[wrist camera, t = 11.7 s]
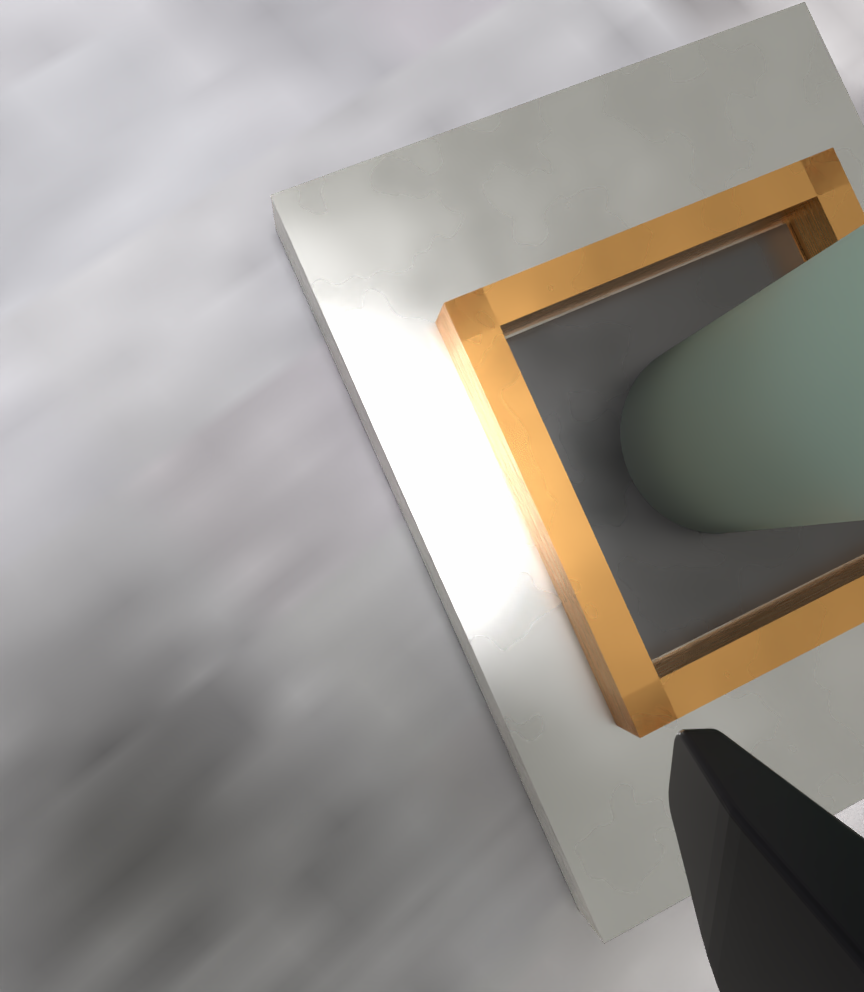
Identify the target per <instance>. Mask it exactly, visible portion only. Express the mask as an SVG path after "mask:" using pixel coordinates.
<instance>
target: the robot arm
mask: <svg viewBox="0 0 864 992" xmlns="http://www.w3.org/2000/svg"><path fill="white" fill-rule="evenodd" d="M668 798H669V807H670V813H671V817H672V821H673V825H674V829H675V833H676V837H677V841H678V845H679V849H680V853H681V857H682V860H683V864H684V868H685V872H686V876H687V880H688V884H689V888H690V892H691V896H692V900H693V904H694V908H695V912H696V916H697V920H698V923H699V927H700V931H701V935H702V939H703V942H704V946H705V950H706V953H707V957H708V960H709V963H710V966H711V968H712V971H713V974H714V977H715V980H716V983H717V986H718V988H719V991H720V992H864V838H863V837H862V836H860V835H859V834H858V833H856V832H855V831H854V830H852V829H851V828H850V827H848V826H847V825H846V824H844V823H843V822H842V821H840V820H839V819H837V818H836V817H835V816H833V815H832V814H831V813H829V812H828V811H827V810H825V809H824V808H823V807H821V806H820V805H819V804H817V803H816V802H815V801H813V800H812V799H811V798H809V797H808V796H807V795H805V794H804V793H803V792H801V791H800V790H799V789H797V788H796V787H795V786H793V785H792V784H791V783H789V782H788V781H787V780H785V779H784V778H783V777H781V776H780V775H779V774H777V773H776V772H774V771H773V770H772V769H770V768H769V767H768V766H766V765H765V764H764V763H762V762H761V761H760V760H758V759H757V758H756V757H754V756H753V755H752V754H750V753H749V752H748V751H746V750H745V749H744V748H742V747H741V746H740V745H738V744H737V743H736V742H734V741H733V740H732V739H730V738H729V737H728V736H726V735H725V734H724V733H722V732H720V731H719V730H716V729H712V728H706V729H683V730H681V731H679V732H678V733H677V734H676V737H675V739H674V745H673V754H672V763H671V771H670V780H669V790H668Z"/></svg>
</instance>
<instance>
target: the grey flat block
mask: <svg viewBox="0 0 864 992" xmlns="http://www.w3.org/2000/svg"><path fill="white" fill-rule="evenodd" d="M271 201H272V208H273V215H274V221H275V228H276V231H277V233H278V236H279V238H280V240H281V242H282V245H283V247H284V249H285V251H286V254H287V256H288V258H289V260H290V263H291V265H292V267H293V269H294V272H295V274H296V276H297V278H298V281H299V283H300V285H301V287H302V290H303V292H304V294H305V296H306V299H307V301H308V303H309V305H310V308H311V310H312V312H313V314H314V316H315V319H316V321H317V323H318V325H319V328H320V330H321V332H322V334H323V337H324V339H325V341H326V343H327V346H328V348H329V350H330V352H331V355H332V357H333V359H334V361H335V364H336V366H337V368H338V370H339V373H340V375H341V377H342V379H343V382H344V384H345V386H346V388H347V391H348V393H349V395H350V397H351V400H352V402H353V404H354V406H355V409H356V411H357V413H358V415H359V418H360V420H361V422H362V424H363V427H364V429H365V431H366V433H367V436H368V438H369V440H370V442H371V445H372V447H373V449H374V451H375V454H376V456H377V458H378V460H379V463H380V465H381V467H382V469H383V472H384V474H385V476H386V478H387V481H388V483H389V485H390V487H391V490H392V492H393V494H394V496H395V499H396V501H397V503H398V505H399V507H400V510H401V512H402V514H403V516H404V519H405V521H406V523H407V525H408V528H409V530H410V532H411V534H412V537H413V539H414V541H415V543H416V546H417V548H418V550H419V552H420V555H421V557H422V559H423V561H424V564H425V566H426V568H427V570H428V573H429V575H430V577H431V579H432V582H433V584H434V586H435V588H436V591H437V593H438V595H439V597H440V600H441V602H442V604H443V606H444V609H445V611H446V613H447V615H448V618H449V620H450V622H451V624H452V627H453V629H454V631H455V633H456V636H457V638H458V640H459V642H460V645H461V647H462V649H463V651H464V654H465V656H466V658H467V660H468V663H469V665H470V667H471V669H472V672H473V674H474V676H475V678H476V681H477V683H478V685H479V687H480V689H481V692H482V694H483V696H484V698H485V701H486V703H487V705H488V707H489V710H490V712H491V714H492V716H493V719H494V721H495V723H496V725H497V728H498V730H499V732H500V734H501V737H502V739H503V741H504V743H505V746H506V748H507V750H508V752H509V755H510V757H511V759H512V761H513V764H514V766H515V768H516V770H517V773H518V775H519V777H520V779H521V782H522V784H523V786H524V788H525V791H526V793H527V795H528V797H529V800H530V802H531V804H532V806H533V809H534V811H535V813H536V815H537V818H538V820H539V822H540V824H541V827H542V829H543V831H544V833H545V836H546V838H547V840H548V842H549V845H550V847H551V849H552V851H553V854H554V856H555V858H556V860H557V863H558V865H559V867H560V869H561V871H562V874H563V876H564V878H565V880H566V883H567V885H568V887H569V889H570V892H571V894H572V896H573V898H574V901H575V903H576V905H577V907H578V909H579V911H580V912H581V913H582V915H583V916H584V917H585V919H586V920H587V921H588V923H589V924H590V926H591V927H592V928H593V930H594V931H595V932H596V934H597V935H598V936H599V938H600V939H601V940H602V942H603V943H604V944H605V943H607V942H608V941H610V940H612V939H614V938H615V937H617V936H619V935H621V934H623V933H624V932H626V931H628V930H630V929H632V928H633V927H635V926H637V925H639V924H640V923H642V922H644V921H646V920H648V919H649V918H651V917H653V916H655V915H657V914H658V913H660V912H662V911H664V910H665V909H667V908H669V907H671V906H673V905H674V904H676V903H678V902H680V901H682V900H683V899H685V898H687V897H689V896H690V895H691V892H690V888H689V884H688V880H687V876H686V872H685V868H684V864H683V860H682V857H681V853H680V849H679V845H678V841H677V837H676V833H675V829H674V825H673V821H672V817H671V813H670V807H669V798H668V790H669V780H670V771H671V763H672V754H673V745H674V739H675V737H676V734H677V733H678V732H679V731H681V730H683V729H706V728H712V729H716V730H719V731H720V732H722V733H724V734H725V735H726V736H728V737H729V738H730V739H732V740H733V741H734V742H736V743H737V744H738V745H740V746H741V747H742V748H744V749H745V750H746V751H748V752H749V753H750V754H752V755H753V756H754V757H756V758H757V759H758V760H760V761H761V762H762V763H764V764H765V765H766V766H768V767H769V768H770V769H772V770H773V771H774V772H776V773H777V774H779V775H780V776H781V777H783V778H784V779H785V780H787V781H788V782H789V783H791V784H792V785H793V786H795V787H796V788H797V789H799V790H800V791H801V792H803V793H804V794H805V795H807V796H808V797H809V798H811V799H812V800H813V801H815V802H816V803H817V804H819V805H820V806H821V807H823V808H824V809H825V810H827V811H828V812H829V813H831V814H832V815H835V814H837V813H839V812H840V811H842V810H844V809H846V808H848V807H849V806H851V805H853V804H855V803H856V802H858V801H860V800H862V799H864V520H860V521H850V522H839V523H828V524H817V525H807V526H796V527H785V528H774V529H764V530H753V531H742V532H731V533H705V532H699V531H694V530H691V529H688V528H685V527H683V526H680V525H678V524H676V523H674V522H672V521H671V520H669V519H667V518H666V517H664V516H663V515H661V514H660V513H659V512H658V511H657V510H655V509H654V508H653V507H652V506H651V505H650V504H649V503H648V502H647V501H646V499H645V498H644V497H643V496H642V494H641V493H640V492H639V490H638V489H637V487H636V486H635V484H634V482H633V480H632V478H631V477H630V475H629V472H628V469H627V467H626V464H625V461H624V457H623V453H622V447H621V439H620V425H621V418H622V412H623V408H624V404H625V401H626V398H627V396H628V393H629V391H630V389H631V387H632V385H633V384H634V382H635V380H636V379H637V378H638V376H639V375H640V374H641V372H642V371H643V370H644V369H645V368H646V367H647V366H648V365H649V364H650V363H651V362H652V361H654V360H655V359H656V358H658V357H659V356H660V355H662V354H663V353H665V352H666V351H668V350H670V349H671V348H673V347H674V346H676V345H677V344H679V343H680V342H682V341H684V340H685V339H687V338H688V337H690V336H691V335H693V334H694V333H696V332H697V331H699V330H701V329H702V328H704V327H705V326H707V325H708V324H710V323H711V322H713V321H715V320H716V319H718V318H719V317H721V316H722V315H724V314H725V313H727V312H729V311H730V310H732V309H733V308H735V307H736V306H738V305H739V304H741V303H742V302H744V301H746V300H747V299H749V298H750V297H752V296H753V295H755V294H756V293H758V292H760V291H761V290H763V289H764V288H766V287H767V286H769V285H770V284H772V283H774V282H775V281H777V280H778V279H780V278H781V277H783V276H784V275H786V274H787V273H789V272H791V271H792V270H794V269H795V268H797V267H798V266H800V265H801V264H803V263H805V262H806V261H808V260H809V259H811V258H812V257H814V256H815V255H817V254H819V253H820V252H822V251H823V250H825V249H826V248H828V247H829V246H831V245H832V244H834V243H836V242H837V241H839V240H840V239H842V238H843V237H845V236H846V235H848V234H850V233H851V232H853V231H854V230H856V229H857V228H859V227H860V226H862V225H864V126H863V124H862V122H861V120H860V118H859V115H858V113H857V111H856V109H855V107H854V105H853V103H852V101H851V99H850V96H849V94H848V92H847V90H846V88H845V86H844V84H843V82H842V80H841V77H840V75H839V73H838V71H837V69H836V67H835V65H834V63H833V61H832V58H831V56H830V54H829V52H828V50H827V48H826V46H825V44H824V41H823V39H822V37H821V35H820V33H819V31H818V29H817V27H816V25H815V22H814V20H813V18H812V16H811V14H810V12H809V10H808V8H807V6H806V3H805V2H803V3H800V4H798V5H795V6H792V7H789V8H787V9H784V10H781V11H778V12H775V13H773V14H770V15H767V16H764V17H762V18H759V19H756V20H753V21H751V22H748V23H745V24H742V25H740V26H737V27H734V28H731V29H728V30H726V31H723V32H720V33H717V34H715V35H712V36H709V37H706V38H704V39H701V40H698V41H695V42H693V43H690V44H687V45H684V46H682V47H679V48H676V49H673V50H670V51H668V52H665V53H662V54H659V55H657V56H654V57H651V58H648V59H646V60H643V61H640V62H637V63H635V64H632V65H629V66H626V67H623V68H621V69H618V70H615V71H612V72H610V73H607V74H604V75H601V76H599V77H596V78H593V79H590V80H588V81H585V82H582V83H579V84H576V85H574V86H571V87H568V88H565V89H563V90H560V91H557V92H554V93H552V94H549V95H546V96H543V97H541V98H538V99H535V100H532V101H530V102H527V103H524V104H521V105H518V106H516V107H513V108H510V109H507V110H505V111H502V112H499V113H496V114H494V115H491V116H488V117H485V118H483V119H480V120H477V121H474V122H471V123H469V124H466V125H463V126H460V127H458V128H455V129H452V130H449V131H447V132H444V133H441V134H438V135H436V136H433V137H430V138H427V139H425V140H422V141H419V142H416V143H413V144H411V145H408V146H405V147H402V148H400V149H397V150H394V151H391V152H389V153H386V154H383V155H380V156H378V157H375V158H372V159H369V160H366V161H364V162H361V163H358V164H355V165H353V166H350V167H347V168H344V169H342V170H339V171H336V172H333V173H331V174H328V175H325V176H322V177H319V178H317V179H314V180H311V181H308V182H306V183H303V184H300V185H297V186H295V187H292V188H289V189H286V190H284V191H281V192H278V193H275V194H273V195H271Z"/></svg>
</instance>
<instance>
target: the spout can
mask: <svg viewBox="0 0 864 992" xmlns="http://www.w3.org/2000/svg"><path fill="white" fill-rule="evenodd" d="M620 439H621V447H622V453H623V457H624V461H625V464H626V467H627V469H628V472H629V475H630V477H631V478H632V480H633V482H634V484H635V486H636V487H637V489H638V490H639V492H640V493H641V494H642V496H643V497H644V498H645V499H646V501H647V502H648V503H649V504H650V505H651V506H652V507H653V508H654V509H655V510H657V511H658V512H659V513H660V514H661V515H663V516H664V517H666V518H667V519H669V520H671V521H672V522H674V523H676V524H678V525H680V526H683V527H685V528H688V529H691V530H694V531H699V532H705V533H731V532H742V531H753V530H764V529H774V528H785V527H796V526H807V525H817V524H828V523H839V522H850V521H860V520H864V225H862V226H860V227H859V228H857V229H856V230H854V231H853V232H851V233H850V234H848V235H846V236H845V237H843V238H842V239H840V240H839V241H837V242H836V243H834V244H832V245H831V246H829V247H828V248H826V249H825V250H823V251H822V252H820V253H819V254H817V255H815V256H814V257H812V258H811V259H809V260H808V261H806V262H805V263H803V264H801V265H800V266H798V267H797V268H795V269H794V270H792V271H791V272H789V273H787V274H786V275H784V276H783V277H781V278H780V279H778V280H777V281H775V282H774V283H772V284H770V285H769V286H767V287H766V288H764V289H763V290H761V291H760V292H758V293H756V294H755V295H753V296H752V297H750V298H749V299H747V300H746V301H744V302H742V303H741V304H739V305H738V306H736V307H735V308H733V309H732V310H730V311H729V312H727V313H725V314H724V315H722V316H721V317H719V318H718V319H716V320H715V321H713V322H711V323H710V324H708V325H707V326H705V327H704V328H702V329H701V330H699V331H697V332H696V333H694V334H693V335H691V336H690V337H688V338H687V339H685V340H684V341H682V342H680V343H679V344H677V345H676V346H674V347H673V348H671V349H670V350H668V351H666V352H665V353H663V354H662V355H660V356H659V357H658V358H656V359H655V360H654V361H652V362H651V363H650V364H649V365H648V366H647V367H646V368H645V369H644V370H643V371H642V372H641V374H640V375H639V376H638V378H637V379H636V380H635V382H634V384H633V385H632V387H631V389H630V391H629V393H628V396H627V398H626V401H625V404H624V408H623V412H622V418H621V425H620Z"/></svg>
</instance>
